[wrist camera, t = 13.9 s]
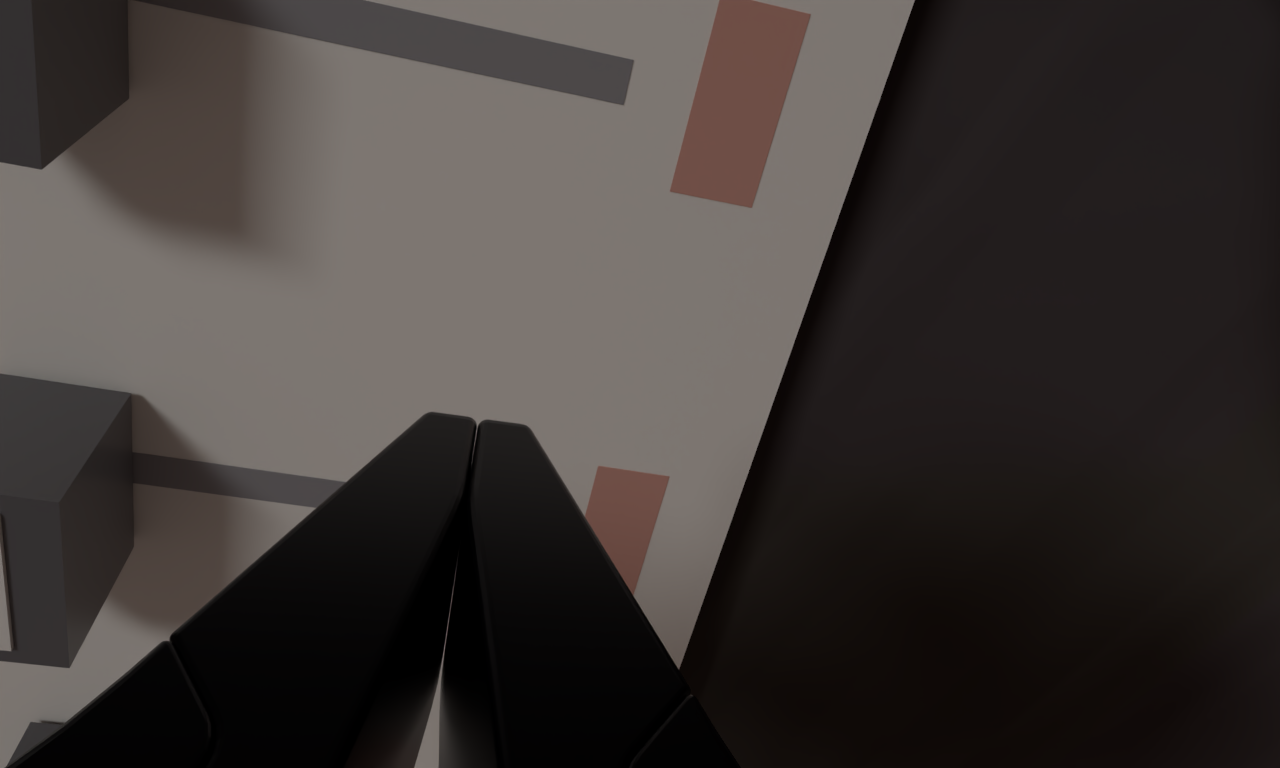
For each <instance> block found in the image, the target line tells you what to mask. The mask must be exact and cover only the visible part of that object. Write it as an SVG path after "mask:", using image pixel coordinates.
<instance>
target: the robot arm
mask: <svg viewBox="0 0 1280 768" xmlns="http://www.w3.org/2000/svg"><path fill="white" fill-rule="evenodd" d="M476 430H477V434H476ZM475 437H476V440H475ZM474 444H475V446H474ZM473 451H474V453H473ZM472 458H473V459H472ZM455 573H456V574H455ZM454 580H455V581H454ZM453 587H454V588H453ZM452 593H453V595H452ZM451 600H452V602H451ZM450 607H451V609H450ZM449 613H450V616H449ZM448 620H449V623H448ZM447 627H448V630H447ZM446 633H447V637H446ZM445 640H446V644H445ZM444 646H445V651H444ZM443 653H444V659H443ZM442 659H443V667H442V676H441V688H440V709H439V768H741V767H740V766H739V764H738V763H737V761H736V760H735V758H734V757H733V755H732V754H731V752H730V751H729V749H728V748H727V746H726V745H725V743H724V741H723V740H722V738H721V737H720V735H719V734H718V732H717V731H716V729H715V727H714V726H713V724H712V723H711V721H710V719H709V718H708V716H707V714H706V713H705V711H704V709H703V708H702V706H701V704H700V703H699V701H698V699H697V698H696V697H695V696H693V695H690V692H691V691H690V687H689V686H688V684H687V682H686V681H685V679H684V677H683V676H682V674H681V673H680V671H679V669H678V668H677V666H676V664H675V663H674V661H673V660H672V658H671V656H670V655H669V653H668V651H667V650H666V648H665V646H664V645H663V643H662V642H661V640H660V638H659V637H658V635H657V633H656V632H655V630H654V629H653V627H652V625H651V624H650V622H649V620H648V619H647V617H646V616H645V614H644V612H643V611H642V609H641V607H640V606H639V604H638V602H637V601H636V599H635V598H634V596H633V594H632V593H631V591H630V589H629V588H628V586H627V585H626V583H625V581H624V580H623V578H622V576H621V575H620V573H619V572H618V570H617V568H616V567H615V565H614V563H613V562H612V560H611V558H610V557H609V555H608V554H607V552H606V550H605V549H604V547H603V545H602V544H601V542H600V541H599V539H598V537H597V536H596V534H595V532H594V531H593V529H592V528H591V526H590V524H589V523H588V521H587V519H586V518H585V516H584V514H583V513H582V511H581V510H580V508H579V506H578V505H577V503H576V501H575V500H574V498H573V497H572V495H571V493H570V492H569V490H568V488H567V487H566V485H565V484H564V482H563V480H562V479H561V477H560V475H559V474H558V472H557V470H556V469H555V467H554V466H553V464H552V462H551V461H550V459H549V457H548V456H547V454H546V453H545V451H544V449H543V448H542V446H541V444H540V443H539V441H538V440H537V438H536V436H535V435H534V433H533V431H532V430H531V428H529V427H528V426H527V425H524V424H519V423H512V422H504V421H497V420H489V419H487V420H483V421H481V422H480V423H479V425H478V428H477V423H476V421H475V420H474V419H473V418H471V417H468V416H461V415H453V414H446V413H439V412H428V413H425V414H424V415H423V416H421V417H420V418H419V419H418V420H417V421H416V422H415V423H413V424H412V425H411V426H410V427H409V428H408V429H407V430H405V431H404V432H403V433H402V434H401V435H400V436H398V437H397V438H396V439H395V440H394V441H393V442H392V443H390V444H389V445H388V446H387V447H386V448H385V449H383V450H382V451H381V452H380V453H379V454H378V455H377V456H375V457H374V458H373V459H372V460H371V461H370V462H369V463H367V464H366V465H365V466H364V467H363V468H362V469H360V470H359V471H358V472H357V473H356V474H355V475H354V476H352V477H351V478H350V479H349V480H348V481H347V482H346V483H344V484H343V485H342V486H341V487H340V488H339V489H337V490H336V491H335V492H334V493H333V494H332V495H331V496H329V497H328V498H327V499H326V500H325V501H324V502H323V503H321V504H320V505H319V506H318V507H317V508H316V509H314V510H313V511H312V512H311V513H310V514H309V515H308V516H306V517H305V518H304V519H303V520H302V521H301V522H300V523H298V524H297V525H296V526H295V527H294V528H293V529H291V530H290V531H289V532H288V533H287V534H286V535H285V536H283V537H282V538H281V539H280V540H279V541H278V542H277V543H275V544H274V545H273V546H272V547H271V548H270V549H268V550H267V551H266V552H265V553H264V554H263V555H262V556H260V557H259V558H258V559H257V560H256V561H255V562H253V563H252V564H251V565H250V566H249V567H248V568H247V569H245V570H244V571H243V572H242V573H241V574H240V575H239V576H237V577H236V578H235V579H234V580H233V581H232V582H230V583H229V584H228V585H227V586H226V587H225V588H224V589H222V590H221V591H220V592H219V593H218V594H217V595H216V596H214V597H213V598H212V599H211V600H210V601H209V602H207V603H206V604H205V605H204V606H203V607H202V608H201V609H199V610H198V611H197V612H196V613H195V614H194V615H193V616H191V617H190V618H189V619H188V620H187V621H186V622H184V623H183V624H182V625H181V626H180V627H179V628H178V629H176V630H175V631H174V632H173V633H172V634H171V635H170V639H169V641H162V642H161V643H159V644H158V645H157V646H156V647H155V648H154V649H153V650H151V651H150V652H149V653H148V654H147V655H146V656H145V657H143V658H142V659H141V660H140V661H139V662H138V663H137V664H135V665H134V666H133V667H132V668H131V669H130V670H129V671H127V672H126V673H125V674H124V675H123V676H121V677H120V678H119V679H118V680H117V681H115V682H114V683H113V684H112V685H110V686H109V687H108V688H107V689H106V690H104V691H103V692H102V693H101V694H99V695H98V696H97V697H96V698H95V699H93V700H92V701H91V702H90V703H88V704H87V705H86V706H85V707H84V708H82V709H81V710H80V711H79V712H77V713H76V714H75V715H74V716H73V717H71V718H70V719H69V720H68V721H66V722H65V723H64V724H63V725H62V726H60V727H59V728H58V729H56V730H55V731H54V732H52V733H51V734H50V735H48V736H47V737H45V738H44V739H43V740H41V741H40V742H39V743H37V744H36V745H35V746H33V747H32V748H31V749H29V750H28V751H26V752H25V753H24V754H22V755H21V756H20V757H18V758H17V759H16V760H14V761H13V762H12V763H10V764H9V765H7V766H6V767H5V768H414V767H415V764H416V760H417V757H418V753H419V750H420V746H421V743H422V739H423V736H424V732H425V729H426V726H427V722H428V719H429V715H430V712H431V708H432V704H433V700H434V696H435V693H436V689H437V685H438V680H439V675H440V670H441V664H442Z"/></svg>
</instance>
